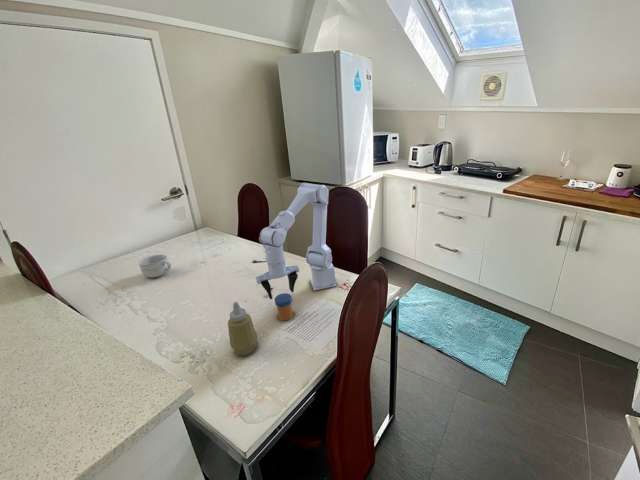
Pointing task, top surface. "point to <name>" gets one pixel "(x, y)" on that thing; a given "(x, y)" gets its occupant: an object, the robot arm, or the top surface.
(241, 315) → the squeeze bottle
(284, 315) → the jar
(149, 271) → the teacup
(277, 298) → the lid
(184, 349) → the top surface
